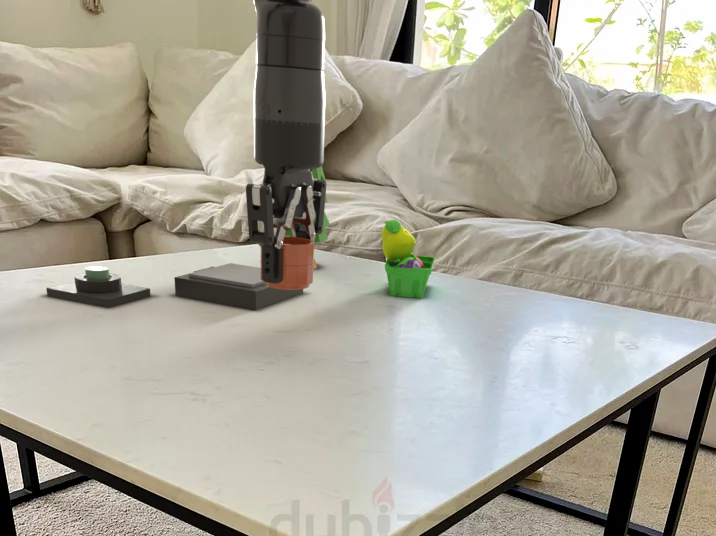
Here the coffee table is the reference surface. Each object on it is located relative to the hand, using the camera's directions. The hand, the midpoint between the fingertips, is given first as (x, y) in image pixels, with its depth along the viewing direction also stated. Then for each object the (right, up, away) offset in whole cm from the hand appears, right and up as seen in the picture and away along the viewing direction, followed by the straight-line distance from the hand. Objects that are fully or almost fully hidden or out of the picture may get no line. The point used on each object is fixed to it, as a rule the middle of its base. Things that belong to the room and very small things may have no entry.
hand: (287, 277), depth 91 cm
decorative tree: (-4, +17, +52) cm, 55 cm away
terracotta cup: (0, -1, 0) cm, 1 cm away
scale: (-11, +6, +29) cm, 32 cm away
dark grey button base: (-30, +4, +22) cm, 38 cm away
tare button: (-30, +6, +21) cm, 37 cm away
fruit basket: (+15, +9, +39) cm, 43 cm away
